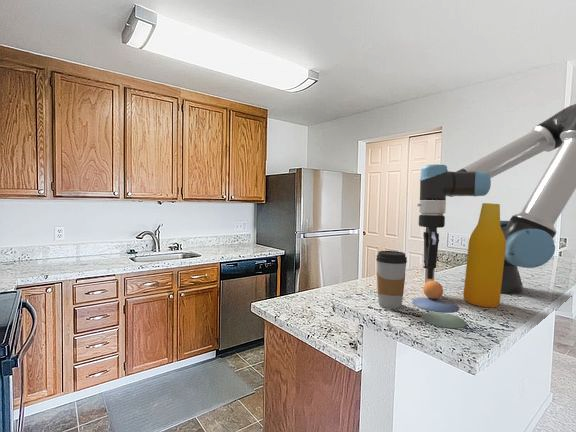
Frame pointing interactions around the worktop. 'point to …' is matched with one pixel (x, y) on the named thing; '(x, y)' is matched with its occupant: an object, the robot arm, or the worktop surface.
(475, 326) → the worktop surface
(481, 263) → the beer bottle
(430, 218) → the robot arm
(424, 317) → the disc
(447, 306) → the disc
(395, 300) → the coffee cup
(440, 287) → the ball
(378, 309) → the worktop surface
